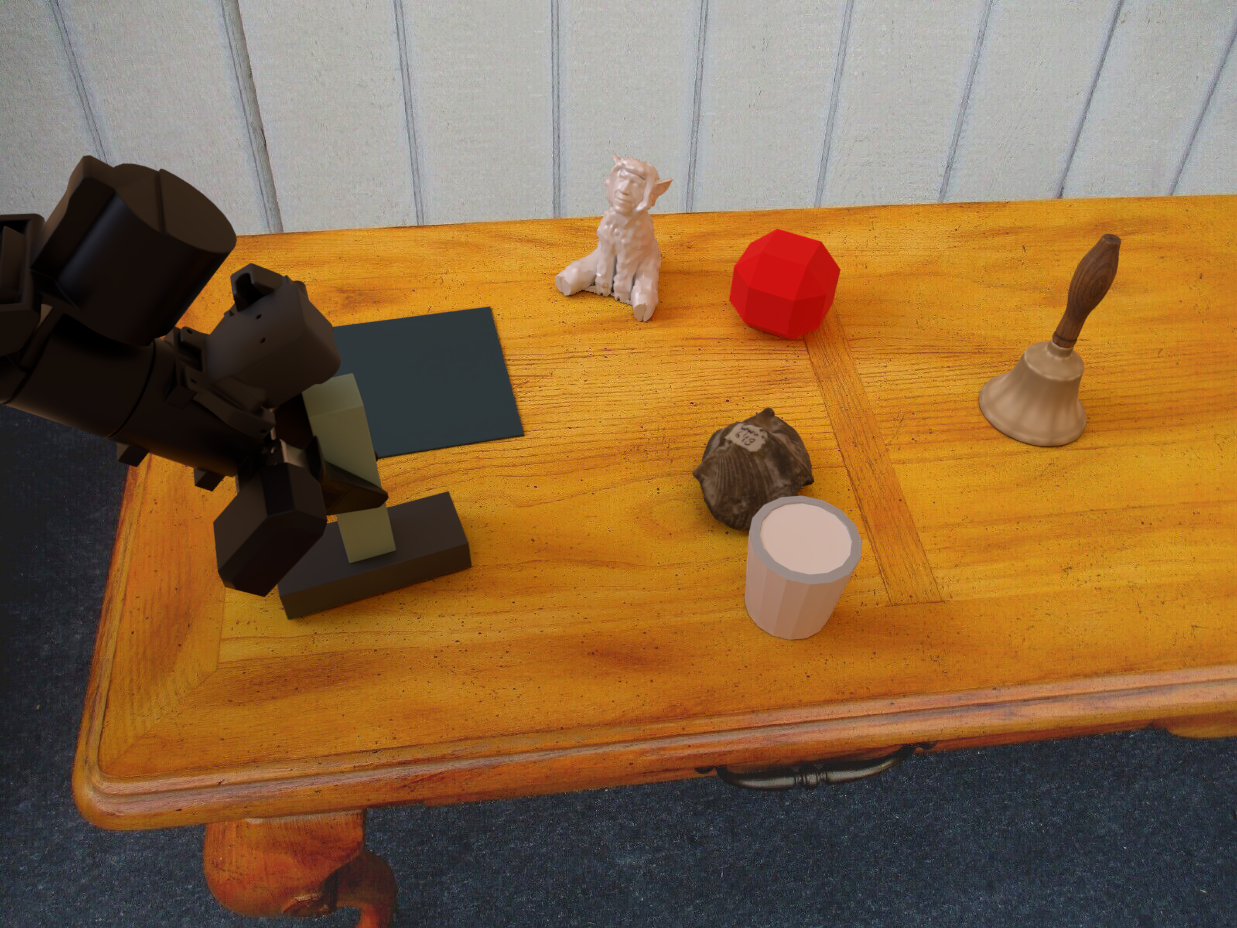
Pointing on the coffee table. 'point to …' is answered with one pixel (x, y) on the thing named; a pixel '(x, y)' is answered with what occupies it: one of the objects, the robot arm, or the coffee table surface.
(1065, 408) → the hand bell
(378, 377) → the cloth mat
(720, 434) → the fossilized seashell
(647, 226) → the white creature statuette
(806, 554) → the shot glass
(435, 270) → the coffee table surface
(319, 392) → the wiper
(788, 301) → the ball
